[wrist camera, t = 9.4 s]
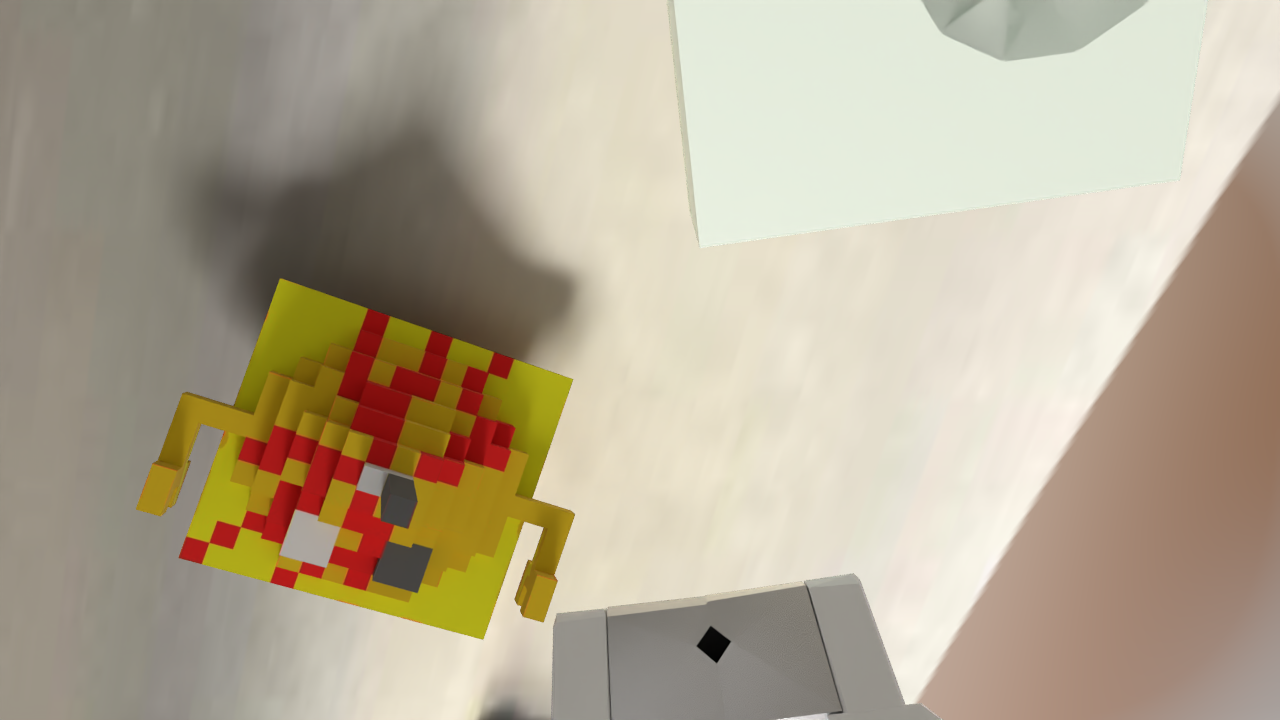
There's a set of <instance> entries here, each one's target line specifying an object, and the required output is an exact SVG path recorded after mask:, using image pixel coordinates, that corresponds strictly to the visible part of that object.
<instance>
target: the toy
mask: <svg viewBox="0 0 1280 720" xmlns="http://www.w3.org/2000/svg"><path fill="white" fill-rule="evenodd" d="M572 382H573V379H571V378H568V377H565V376H562V375H559V374H556V373H553V372H551V371H548V370H545V369H542V368H539V367H536V366H533V365H530V364H527V363H524V362H522V361H519V360H516V359H513V358H510V357H507V356H504V355H501V354H498V353H495V352H493V351H490V350H487V349H484V348H481V347H478V346H475V345H472V344H469V343H467V342H464V341H461V340H458V339H455V338H452V337H449V336H446V335H443V334H440V333H438V332H435V331H432V330H429V329H426V328H423V327H420V326H417V325H414V324H412V323H409V322H406V321H403V320H400V319H397V318H394V317H391V316H388V315H385V314H383V313H380V312H377V311H374V310H371V309H368V308H365V307H362V306H359V305H356V304H354V303H351V302H348V301H345V300H342V299H339V298H336V297H333V296H330V295H328V294H325V293H322V292H319V291H316V290H313V289H310V288H307V287H304V286H301V285H299V284H296V283H293V282H290V281H287V280H284V279H281V278H280V280H279V283H278V285H277V288H276V291H275V294H274V296H273V299H272V302H271V305H270V307H269V310H268V313H267V316H266V318H265V321H264V324H263V327H262V329H261V332H260V335H259V338H258V340H257V343H256V346H255V349H254V351H253V354H252V357H251V360H250V362H249V365H248V368H247V371H246V373H245V376H244V379H243V382H242V384H241V387H240V390H239V393H238V395H237V398H236V401H235V404H234V406H231V405H228V404H225V403H222V402H218V401H215V400H212V399H209V398H205V397H202V396H199V395H196V394H193V393H189V392H185V393H182V396H181V399H180V401H179V404H178V407H177V410H176V412H175V415H174V418H173V421H172V423H171V426H170V429H169V431H168V434H167V437H166V440H165V442H164V445H163V448H162V451H161V453H160V456H159V459H158V461H156V462H154V463H153V464H152V467H151V469H150V472H149V475H148V477H147V480H146V483H145V486H144V488H143V491H142V494H141V496H140V499H139V502H138V505H137V507H136V510H140V511H143V512H147V513H151V514H154V515H158V516H162V515H163V514H164V513H165V512H166V510H167V507H170V508H171V507H172V506H173V505H175V504H176V501H177V498H178V495H179V493H180V490H181V487H182V484H183V482H184V479H185V476H186V473H187V471H188V468H189V465H190V462H191V461H189V460H188V459H189V456H190V454H191V451H192V448H193V445H194V443H195V440H196V437H197V434H198V432H199V429H200V426H201V424H204V425H207V426H210V427H214V428H217V429H220V430H224V434H223V437H222V439H221V442H220V445H219V448H218V450H217V453H216V456H215V459H214V461H213V464H212V467H211V470H210V472H209V475H208V478H207V481H206V483H205V486H204V489H203V492H202V494H201V497H200V500H199V503H198V505H197V508H196V511H195V514H194V516H193V519H192V522H191V525H190V527H189V530H188V533H187V536H186V538H185V541H184V544H183V547H182V549H181V552H180V555H179V558H181V559H184V560H188V561H192V562H195V563H199V564H203V565H207V566H210V567H214V568H218V569H222V570H225V571H229V572H233V573H236V574H240V575H244V576H248V577H251V578H255V579H259V580H263V581H266V582H270V583H274V584H277V585H281V586H285V587H289V588H292V589H296V590H300V591H304V592H307V593H311V594H315V595H318V596H322V597H326V598H330V599H333V600H337V601H341V602H345V603H348V604H352V605H356V606H359V607H363V608H367V609H371V610H374V611H378V612H382V613H386V614H389V615H393V616H397V617H401V618H404V619H408V620H412V621H415V622H419V623H423V624H427V625H430V626H434V627H438V628H442V629H445V630H449V631H453V632H456V633H460V634H464V635H468V636H471V637H475V638H479V639H484V636H485V633H486V630H487V627H488V625H489V622H490V619H491V616H492V613H493V610H494V607H495V604H496V601H497V598H498V596H499V593H500V590H501V587H502V584H503V581H504V578H505V575H506V572H507V570H508V567H509V564H510V561H511V558H512V555H513V552H514V549H515V546H516V544H517V541H518V538H519V535H520V532H521V529H522V526H523V523H524V522H527V523H531V524H534V525H537V526H541V527H544V528H543V531H542V534H541V537H540V540H539V543H538V546H537V549H536V552H535V554H534V557H533V560H532V561H531V560H528V561H527V564H526V567H525V570H524V573H523V576H522V579H521V582H520V585H519V587H518V590H517V593H516V596H515V601H516V603H517V605H520V606H521V609H520V612H521V614H522V616H523V617H526V618H529V619H533V620H537V621H540V622H544V619H545V617H546V614H547V611H548V608H549V605H550V602H551V599H552V596H553V593H554V590H555V587H556V584H557V581H558V580H557V579H556V577H555V576H554V574H555V571H556V568H557V566H558V563H559V560H560V557H561V554H562V551H563V548H564V545H565V542H566V539H567V536H568V533H569V531H570V528H571V525H572V522H573V519H574V516H575V514H574V513H573V512H572V511H570V510H567V509H564V508H561V507H558V506H554V505H551V504H548V503H545V502H541V501H538V500H535V499H532V497H533V494H534V491H535V489H536V486H537V483H538V480H539V477H540V474H541V471H542V468H543V465H544V463H545V460H546V457H547V454H548V451H549V448H550V445H551V442H552V439H553V436H554V434H555V431H556V428H557V425H558V422H559V419H560V416H561V413H562V410H563V408H564V405H565V402H566V399H567V396H568V393H569V390H570V387H571V384H572Z"/></svg>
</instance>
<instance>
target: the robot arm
mask: <svg viewBox="0 0 1280 720" xmlns="http://www.w3.org/2000/svg"><path fill="white" fill-rule="evenodd" d="M551 720H943V719H941V718H940V717H939V716H937V715H936V714H935V713H933V712H932V711H931V710H929V709H928V708H927V707H926V706H924V705H923V704H922V703H919V704H909V705H905V702H904V699H903V697H902V694H901V691H900V688H899V686H898V683H897V680H896V677H895V675H894V672H893V669H892V666H891V664H890V661H889V658H888V655H887V653H886V650H885V647H884V644H883V642H882V639H881V636H880V633H879V631H878V628H877V625H876V622H875V620H874V617H873V614H872V611H871V609H870V606H869V603H868V600H867V598H866V595H865V592H864V589H863V587H862V584H861V581H860V580H859V578H858V577H857V576H856V575H855V574H854V573H853V574H847V575H840V576H833V577H826V578H820V579H813V580H806V581H804V583H803V582H802V581H800V582H794V583H787V584H780V585H773V586H766V587H759V588H752V589H746V590H739V591H732V592H725V593H718V594H711V595H705V596H702V597H693V598H684V599H675V600H666V601H657V602H648V603H639V604H630V605H621V606H612V607H608V609H607V608H605V609H595V610H586V611H577V612H567V613H558V614H557V616H556V619H555V623H554V626H553V663H552V706H551Z"/></svg>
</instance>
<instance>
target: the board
mask: <svg viewBox="0 0 1280 720" xmlns="http://www.w3.org/2000/svg"><path fill="white" fill-rule="evenodd" d="M667 4H668V14H669V23H670V32H671V41H672V51H673V60H674V69H675V78H676V88H677V97H678V106H679V115H680V125H681V134H682V143H683V152H684V162H685V171H686V180H687V189H688V199H689V208H690V214H691V218H692V222H693V225H694V229H695V232H696V236H697V240H698V243H699V247H700V248H704V247H711V246H718V245H725V244H732V243H739V242H746V241H753V240H761V239H768V238H775V237H782V236H789V235H796V234H803V233H810V232H817V231H824V230H832V229H839V228H846V227H853V226H860V225H867V224H874V223H881V222H888V221H895V220H903V219H910V218H917V217H924V216H931V215H938V214H945V213H952V212H959V211H966V210H974V209H981V208H988V207H995V206H1002V205H1009V204H1016V203H1023V202H1030V201H1037V200H1045V199H1052V198H1059V197H1066V196H1073V195H1080V194H1087V193H1094V192H1101V191H1108V190H1116V189H1123V188H1130V187H1137V186H1144V185H1151V184H1158V183H1165V182H1172V181H1179V180H1180V176H1181V170H1182V164H1183V157H1184V151H1185V145H1186V138H1187V132H1188V125H1189V119H1190V113H1191V106H1192V100H1193V94H1194V87H1195V81H1196V75H1197V68H1198V62H1199V55H1200V49H1201V43H1202V36H1203V30H1204V24H1205V17H1206V11H1207V5H1208V0H667Z"/></svg>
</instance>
